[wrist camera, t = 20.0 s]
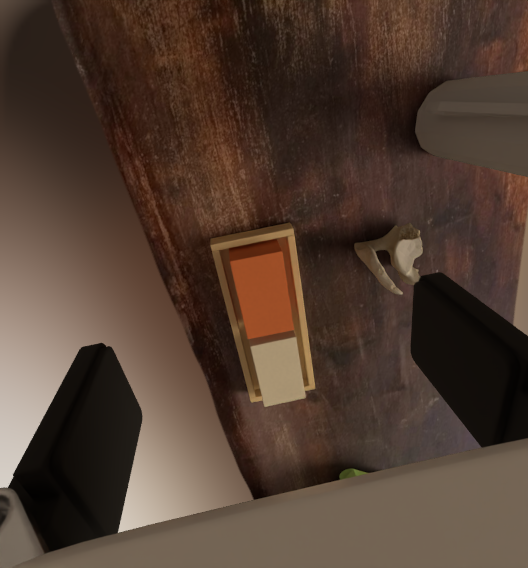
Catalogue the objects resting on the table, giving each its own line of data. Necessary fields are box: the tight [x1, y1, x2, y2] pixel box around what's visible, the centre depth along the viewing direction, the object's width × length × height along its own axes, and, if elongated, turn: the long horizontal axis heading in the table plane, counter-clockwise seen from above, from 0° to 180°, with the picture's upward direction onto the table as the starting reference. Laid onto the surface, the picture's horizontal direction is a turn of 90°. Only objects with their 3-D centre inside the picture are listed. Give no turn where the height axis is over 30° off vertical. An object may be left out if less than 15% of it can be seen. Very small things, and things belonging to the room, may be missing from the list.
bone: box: [354, 223, 423, 294], centre depth 39 cm, size 9×6×10 cm
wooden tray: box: [210, 223, 315, 403], centre depth 44 cm, size 24×9×2 cm, turn 10°
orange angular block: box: [229, 239, 294, 339], centre depth 40 cm, size 10×6×4 cm, turn 9°
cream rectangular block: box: [249, 330, 305, 407], centre depth 45 cm, size 10×6×4 cm, turn 10°
